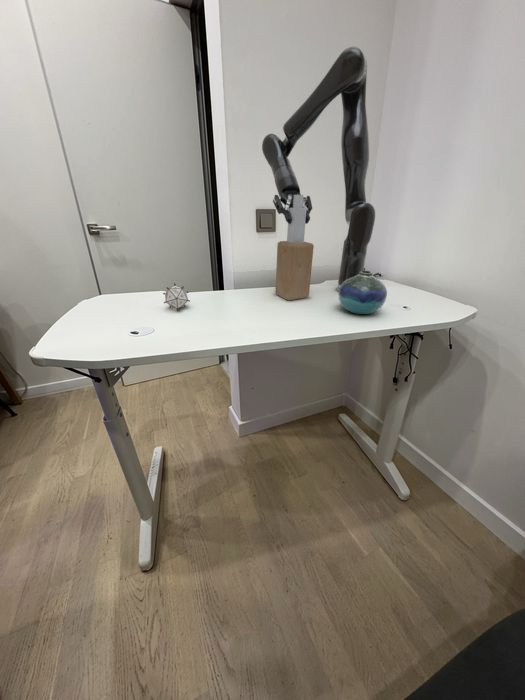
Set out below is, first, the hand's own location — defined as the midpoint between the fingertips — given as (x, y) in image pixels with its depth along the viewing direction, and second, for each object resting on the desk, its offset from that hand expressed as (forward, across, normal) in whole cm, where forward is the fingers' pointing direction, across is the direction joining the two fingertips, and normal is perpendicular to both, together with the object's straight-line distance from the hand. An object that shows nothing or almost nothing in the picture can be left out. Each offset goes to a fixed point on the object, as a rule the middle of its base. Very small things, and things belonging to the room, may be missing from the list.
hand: (299, 221), depth 100 cm
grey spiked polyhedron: (+19, -44, +19) cm, 51 cm away
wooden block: (+18, 0, +20) cm, 27 cm away
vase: (+34, +14, +4) cm, 37 cm away
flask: (+4, 0, +6) cm, 7 cm away
